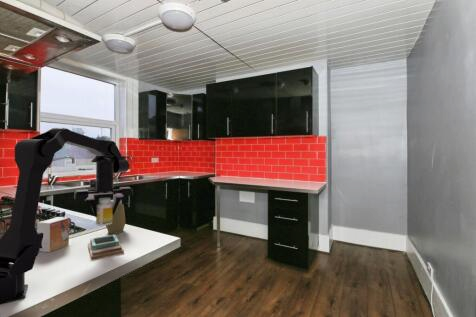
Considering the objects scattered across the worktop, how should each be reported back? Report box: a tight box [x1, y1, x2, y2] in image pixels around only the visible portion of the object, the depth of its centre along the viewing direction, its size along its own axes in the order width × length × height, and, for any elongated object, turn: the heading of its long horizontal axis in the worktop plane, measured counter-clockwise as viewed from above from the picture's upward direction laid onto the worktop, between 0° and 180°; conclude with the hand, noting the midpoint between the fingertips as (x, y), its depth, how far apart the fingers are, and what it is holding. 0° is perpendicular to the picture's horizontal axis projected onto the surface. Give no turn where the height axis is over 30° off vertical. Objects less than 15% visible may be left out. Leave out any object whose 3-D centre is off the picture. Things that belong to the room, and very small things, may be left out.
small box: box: [36, 216, 70, 253], centre depth 90 cm, size 8×6×10 cm
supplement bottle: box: [95, 196, 113, 226], centre depth 91 cm, size 5×5×10 cm
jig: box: [87, 234, 125, 261], centre depth 89 cm, size 14×10×3 cm
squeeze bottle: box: [105, 196, 126, 235], centre depth 108 cm, size 8×8×18 cm
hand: (104, 215), depth 91 cm, fingers closed on supplement bottle, 5 cm apart
